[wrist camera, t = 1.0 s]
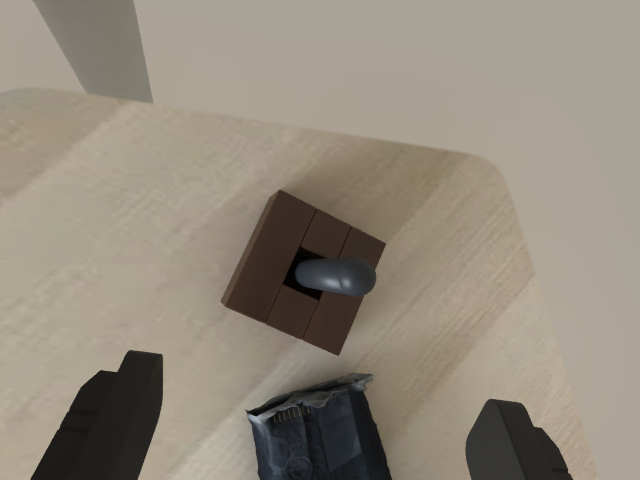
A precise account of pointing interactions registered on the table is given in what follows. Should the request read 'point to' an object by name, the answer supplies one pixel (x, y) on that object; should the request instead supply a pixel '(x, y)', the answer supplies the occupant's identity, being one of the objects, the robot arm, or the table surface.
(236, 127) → the table surface
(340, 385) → the electronic device
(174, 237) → the table surface
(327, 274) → the dark grey peg
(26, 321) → the table surface
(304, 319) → the pen stand
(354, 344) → the table surface
